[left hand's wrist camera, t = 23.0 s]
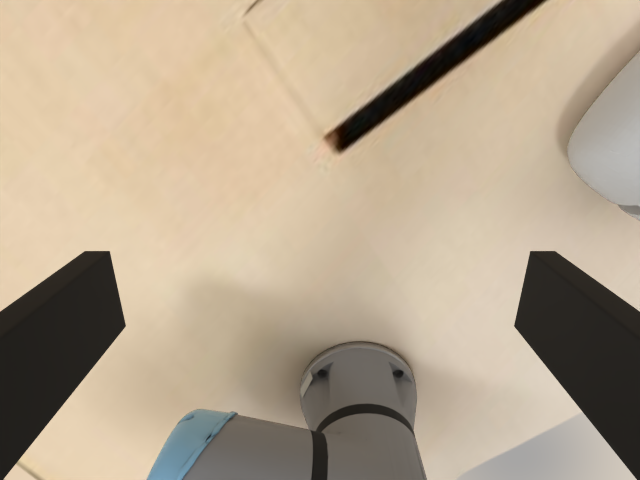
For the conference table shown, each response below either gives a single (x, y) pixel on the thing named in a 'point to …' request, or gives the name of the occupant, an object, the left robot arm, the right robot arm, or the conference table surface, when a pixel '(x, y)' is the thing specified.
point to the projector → (612, 141)
